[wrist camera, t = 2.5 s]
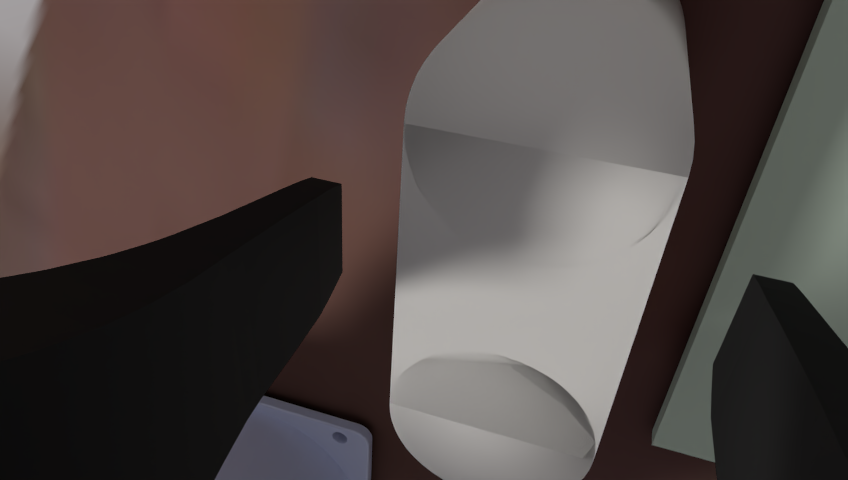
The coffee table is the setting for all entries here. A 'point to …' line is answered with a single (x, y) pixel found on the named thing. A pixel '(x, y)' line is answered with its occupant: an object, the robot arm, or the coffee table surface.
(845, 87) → the mat
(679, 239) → the coffee table surface
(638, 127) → the connector
